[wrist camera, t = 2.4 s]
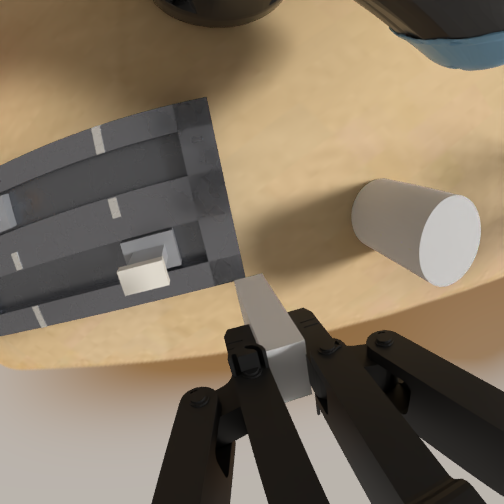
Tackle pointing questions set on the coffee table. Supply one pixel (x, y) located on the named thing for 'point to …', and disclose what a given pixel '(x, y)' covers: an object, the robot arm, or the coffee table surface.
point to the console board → (113, 216)
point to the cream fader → (148, 261)
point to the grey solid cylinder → (418, 228)
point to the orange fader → (6, 213)
